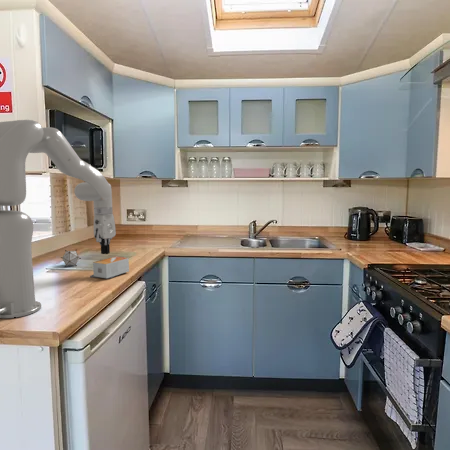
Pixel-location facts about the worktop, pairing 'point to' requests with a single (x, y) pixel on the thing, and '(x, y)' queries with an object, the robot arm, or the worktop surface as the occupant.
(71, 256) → the game die
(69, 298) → the worktop surface
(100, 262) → the small box
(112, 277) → the rubber mat
